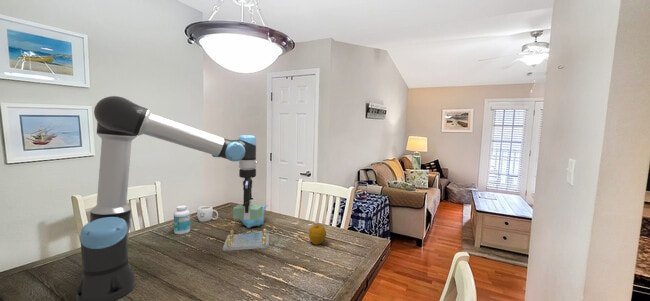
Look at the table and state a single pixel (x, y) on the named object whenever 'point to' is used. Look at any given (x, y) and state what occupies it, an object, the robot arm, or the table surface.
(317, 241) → the apple
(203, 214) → the mug
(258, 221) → the teapot
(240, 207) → the pale green block
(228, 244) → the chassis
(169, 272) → the table surface
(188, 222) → the pill bottle
